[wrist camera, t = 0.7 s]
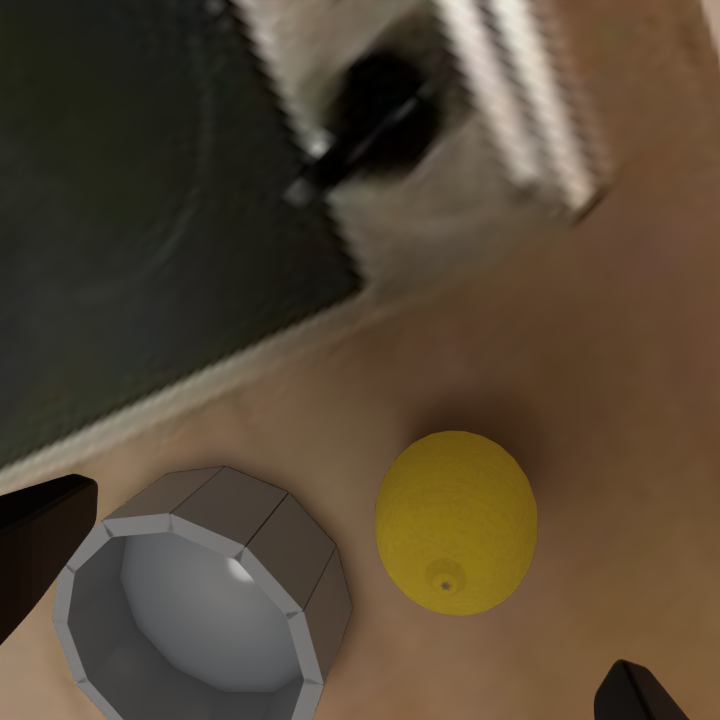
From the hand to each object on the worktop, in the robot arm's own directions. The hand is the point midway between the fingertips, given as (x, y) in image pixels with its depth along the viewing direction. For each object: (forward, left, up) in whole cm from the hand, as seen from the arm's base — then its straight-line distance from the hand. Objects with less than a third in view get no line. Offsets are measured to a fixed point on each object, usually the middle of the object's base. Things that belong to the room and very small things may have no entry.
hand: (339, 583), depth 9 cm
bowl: (-14, +6, -14) cm, 20 cm away
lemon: (-3, -2, -14) cm, 14 cm away
